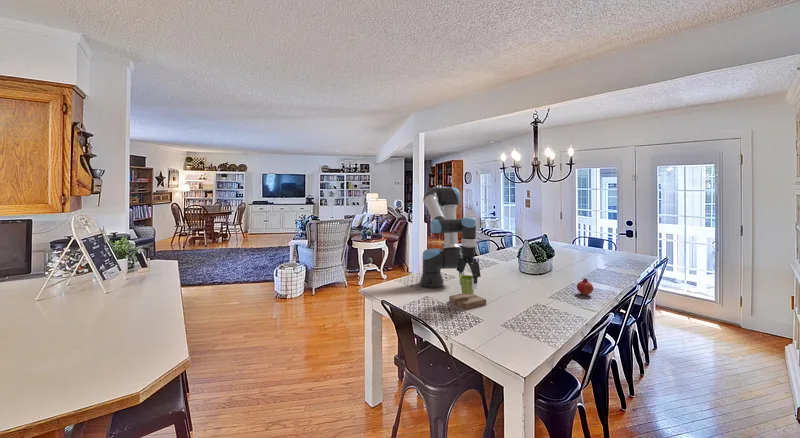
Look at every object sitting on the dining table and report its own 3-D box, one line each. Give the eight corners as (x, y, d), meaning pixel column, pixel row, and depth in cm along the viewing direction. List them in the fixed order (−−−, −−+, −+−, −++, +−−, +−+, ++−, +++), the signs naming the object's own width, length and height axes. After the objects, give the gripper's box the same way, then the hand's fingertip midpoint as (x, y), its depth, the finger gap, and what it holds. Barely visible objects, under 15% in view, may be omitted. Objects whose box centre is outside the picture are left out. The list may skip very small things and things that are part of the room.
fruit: (594, 297, 178) (596, 280, 177) (579, 296, 180) (580, 279, 178) (589, 292, 186) (590, 276, 185) (574, 292, 187) (575, 275, 186)
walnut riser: (449, 301, 174) (449, 296, 173) (468, 296, 180) (468, 291, 180) (466, 310, 161) (466, 304, 161) (486, 304, 168) (486, 299, 168)
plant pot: (465, 288, 177) (465, 274, 176) (479, 292, 170) (480, 277, 169) (455, 293, 170) (455, 277, 169) (470, 297, 164) (470, 281, 163)
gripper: (450, 243, 175) (449, 282, 178) (477, 250, 156) (476, 293, 158) (460, 242, 179) (460, 280, 181) (488, 248, 160) (487, 291, 162)
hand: (467, 286), depth 170 cm, fingers closed on plant pot, 9 cm apart
